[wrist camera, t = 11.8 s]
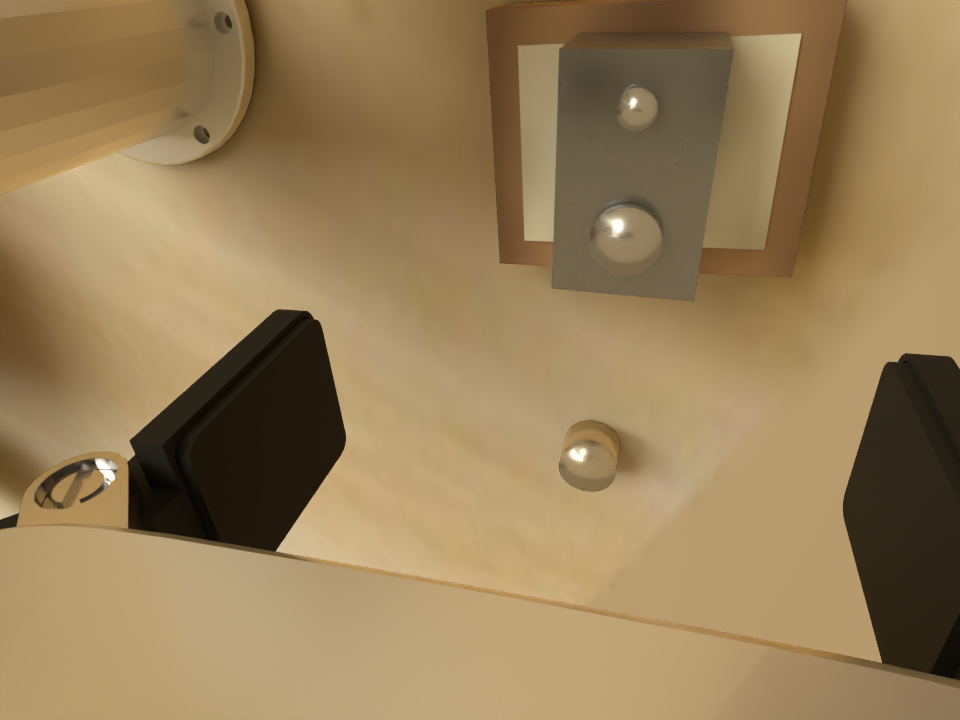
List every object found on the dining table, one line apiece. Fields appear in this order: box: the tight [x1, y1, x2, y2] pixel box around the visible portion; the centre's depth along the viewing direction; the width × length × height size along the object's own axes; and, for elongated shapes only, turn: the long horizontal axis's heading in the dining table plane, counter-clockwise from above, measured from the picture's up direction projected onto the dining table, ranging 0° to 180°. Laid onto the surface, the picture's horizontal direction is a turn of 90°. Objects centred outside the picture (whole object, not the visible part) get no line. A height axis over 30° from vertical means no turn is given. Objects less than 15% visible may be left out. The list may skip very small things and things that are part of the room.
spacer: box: [559, 420, 620, 492], centre depth 36 cm, size 3×3×2 cm
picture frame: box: [486, 0, 847, 277], centre depth 26 cm, size 12×10×3 cm
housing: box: [552, 32, 734, 301], centre depth 23 cm, size 8×5×5 cm, turn 2°
